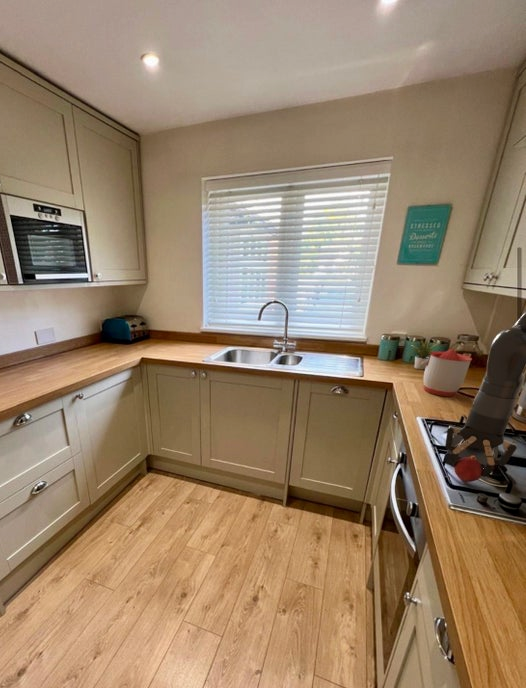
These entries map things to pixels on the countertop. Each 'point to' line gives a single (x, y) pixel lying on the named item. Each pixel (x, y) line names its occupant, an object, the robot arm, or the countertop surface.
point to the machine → (469, 452)
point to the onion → (468, 469)
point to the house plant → (423, 354)
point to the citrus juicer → (445, 372)
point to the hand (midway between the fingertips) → (467, 470)
